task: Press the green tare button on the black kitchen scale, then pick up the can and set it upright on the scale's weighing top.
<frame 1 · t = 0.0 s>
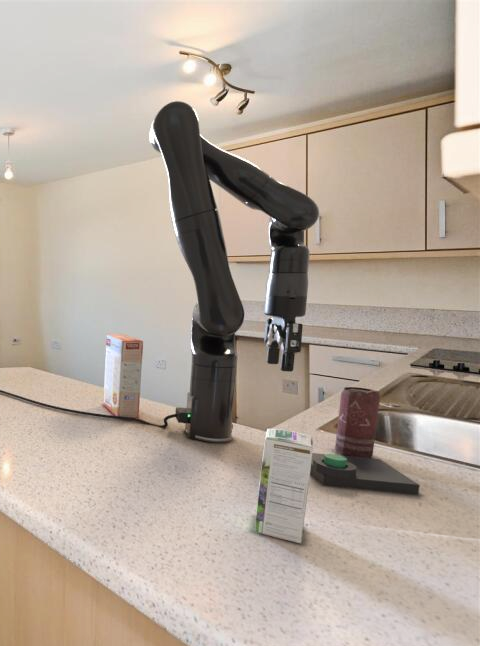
hand: (279, 367, 103), 17 cm above the countertop, tool pointing down, fingers open, 8 cm apart
cracker box: (120, 412, 130), on the countertop
can: (353, 455, 98), on the countertop
syrup box: (278, 531, 69), on the countertop
tare button: (334, 461, 85), point 4 cm above the countertop, slide at 0.1 cm
scale: (351, 476, 87), on the countertop
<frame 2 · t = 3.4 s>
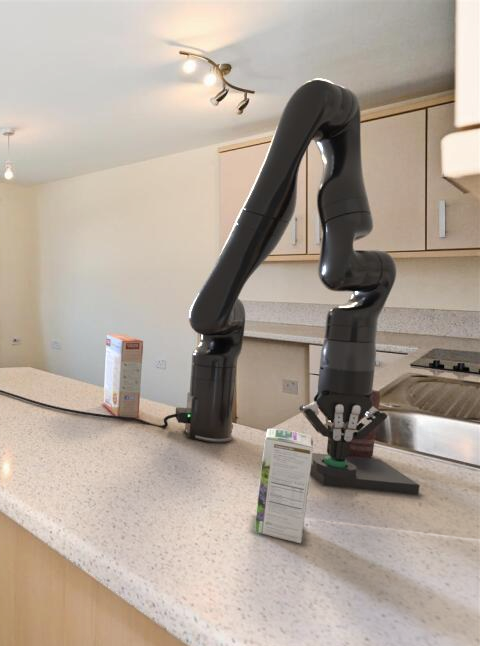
hand: (336, 459, 85), 4 cm above the countertop, tool pointing down, fingers closed
tare button: (334, 463, 85), point 4 cm above the countertop, slide at -0.3 cm, touching gripper
everything else where it was.
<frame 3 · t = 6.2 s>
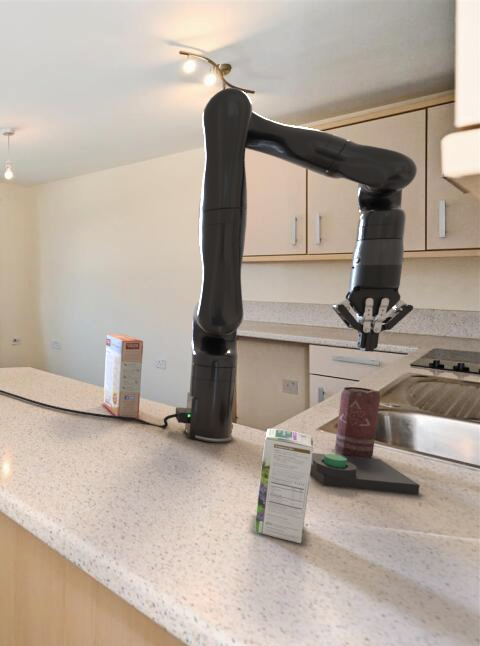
hand: (366, 350, 94), 22 cm above the countertop, tool pointing down, fingers closed
tare button: (334, 461, 85), point 4 cm above the countertop, slide at 0.1 cm
everything else where it was.
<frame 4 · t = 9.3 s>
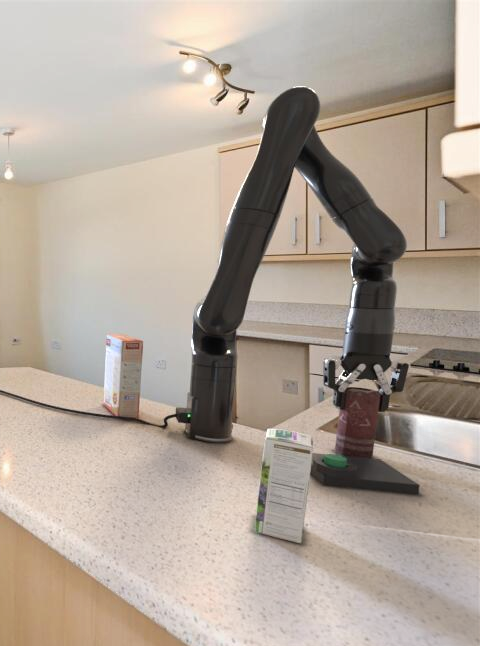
hand: (359, 409, 97), 10 cm above the countertop, tool pointing down, fingers closed on can, 6 cm apart
can: (353, 455, 98), on the countertop, touching gripper
everything else where it was.
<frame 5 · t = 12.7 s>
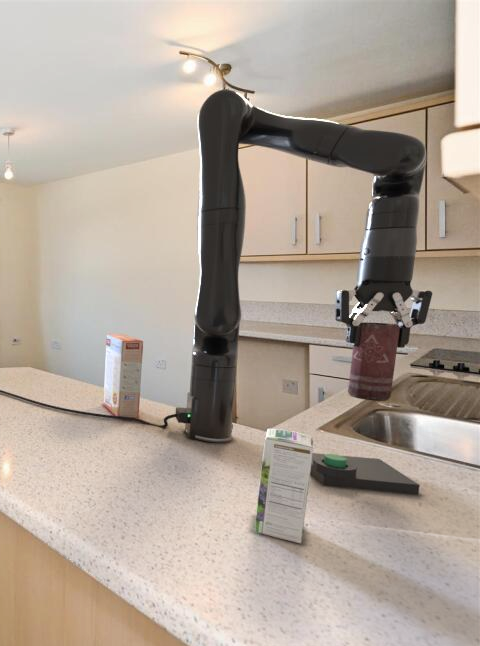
hand: (375, 346, 86), 24 cm above the countertop, tool pointing down, fingers closed on can, 6 cm apart
can: (369, 398, 88), point 14 cm above the countertop, touching gripper
everything else where it was.
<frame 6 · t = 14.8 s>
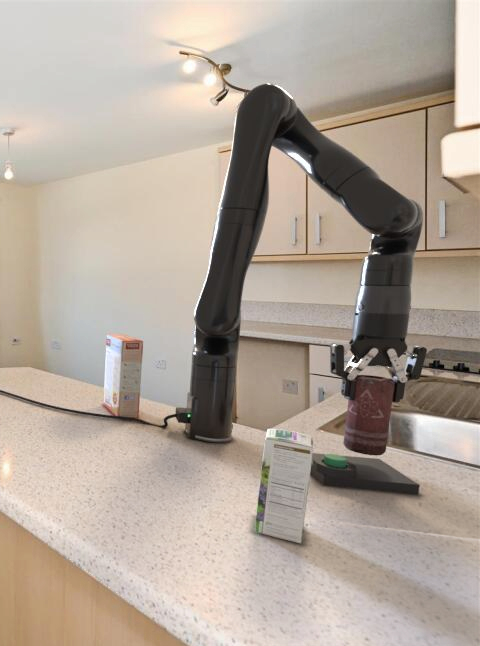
hand: (370, 399, 87), 14 cm above the countertop, tool pointing down, fingers closed on can, 6 cm apart
can: (364, 451, 88), point 4 cm above the countertop, touching gripper
everything else where it was.
when the fingers open (12 cm above the countertop, at t = 16.3 s): can stays where it is, resting on scale.
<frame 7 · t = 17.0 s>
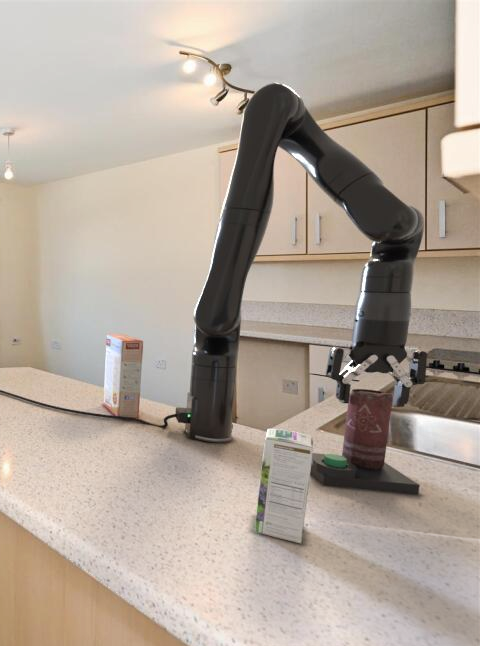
hand: (370, 404, 87), 14 cm above the countertop, tool pointing down, fingers open, 8 cm apart
can: (362, 464, 88), point 2 cm above the countertop, touching scale
everything else where it was.
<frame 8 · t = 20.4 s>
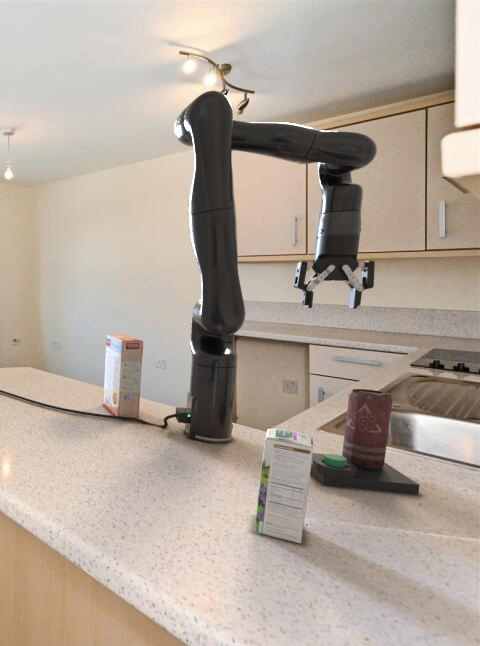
hand: (330, 308, 104), 30 cm above the countertop, tool pointing down, fingers open, 8 cm apart
nothing on the countertop moved.
at the end: tare button pushed in 1.0 cm at the most during the clip and back out by the end; can inside the target area on the scale (2.2 cm from its centre), point 1.7 cm above the scale's base; can tilted 0° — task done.
